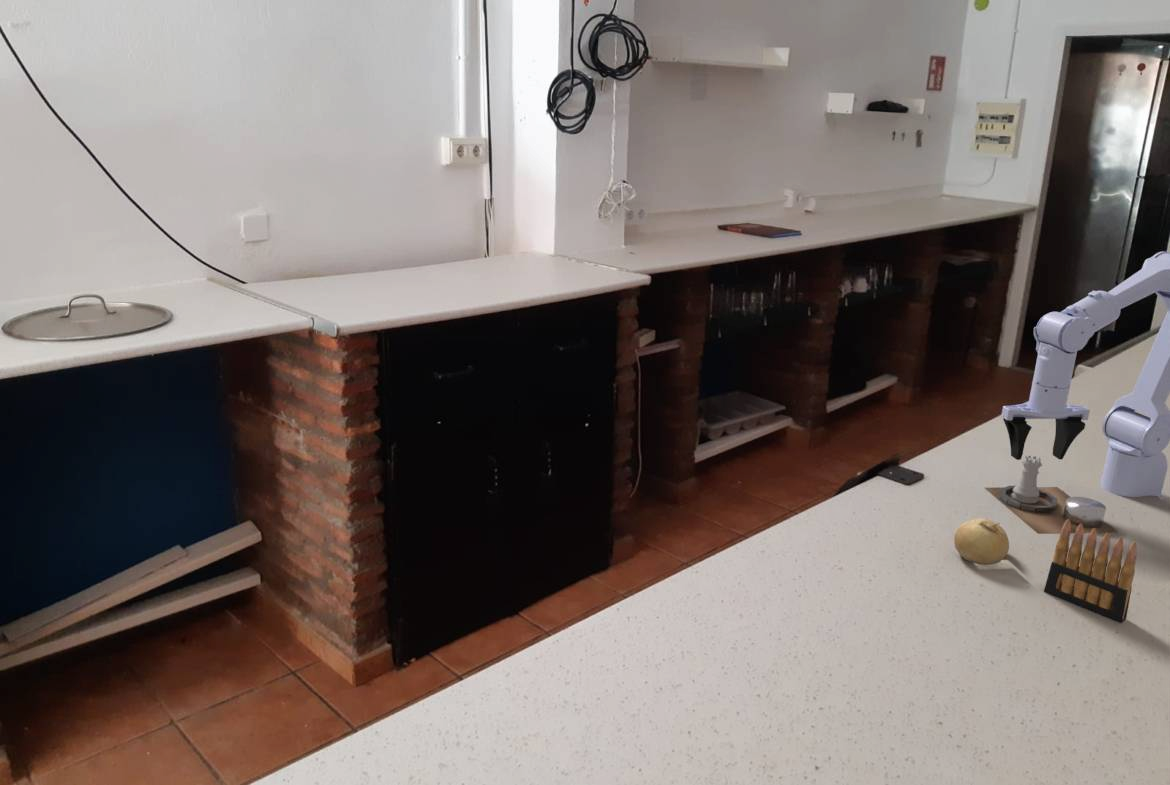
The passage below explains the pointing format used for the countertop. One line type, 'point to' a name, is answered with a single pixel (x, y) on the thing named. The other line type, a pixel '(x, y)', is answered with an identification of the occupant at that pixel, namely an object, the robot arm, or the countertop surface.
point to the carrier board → (1050, 520)
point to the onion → (981, 541)
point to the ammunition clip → (1092, 574)
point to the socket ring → (1028, 507)
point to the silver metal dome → (1084, 512)
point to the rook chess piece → (1028, 482)
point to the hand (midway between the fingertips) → (1036, 457)
